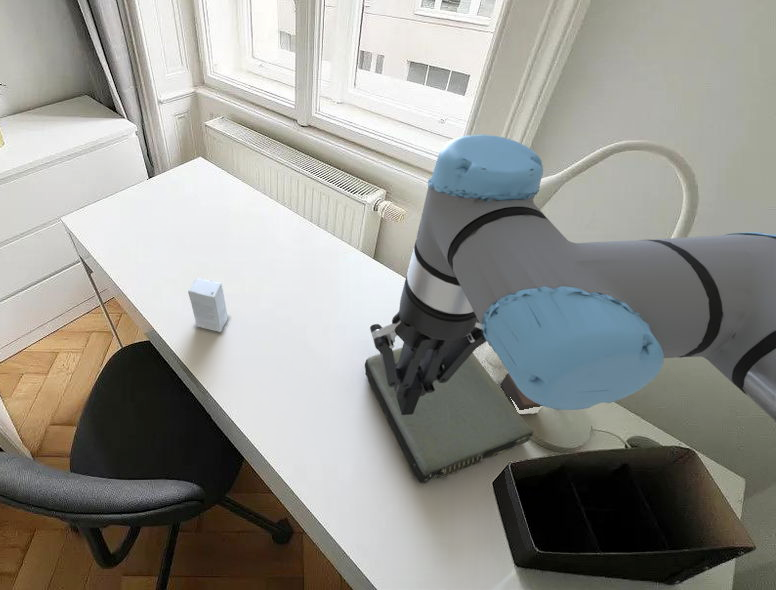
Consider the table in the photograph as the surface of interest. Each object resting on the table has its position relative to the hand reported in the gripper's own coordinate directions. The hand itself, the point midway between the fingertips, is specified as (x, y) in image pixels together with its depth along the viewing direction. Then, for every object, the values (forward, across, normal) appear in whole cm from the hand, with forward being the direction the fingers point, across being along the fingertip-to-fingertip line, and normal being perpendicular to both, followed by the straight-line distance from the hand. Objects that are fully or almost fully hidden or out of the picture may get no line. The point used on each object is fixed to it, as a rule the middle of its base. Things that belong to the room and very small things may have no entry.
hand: (404, 404), depth 55 cm
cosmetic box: (+21, +30, -31) cm, 48 cm away
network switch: (+21, -13, -10) cm, 27 cm away
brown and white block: (+21, -28, -10) cm, 37 cm away
